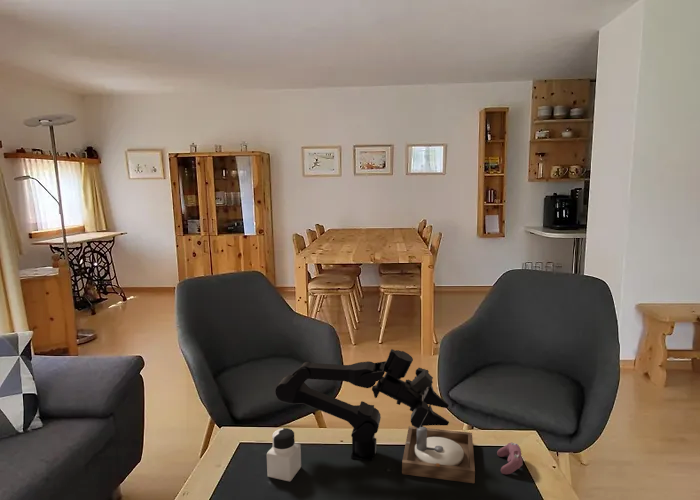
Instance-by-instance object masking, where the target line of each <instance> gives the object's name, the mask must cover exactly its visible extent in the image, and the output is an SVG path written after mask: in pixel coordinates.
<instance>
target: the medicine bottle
mask: <svg viewBox="0 0 700 500" xmlns="http://www.w3.org/2000/svg"><path fill="white" fill-rule="evenodd" d="M271 437H272V447H271V448H270V449H269V450H268V451H267V453H266V470H267V477H268V478H272V479H277V480H282V481H285V482H291V481H292V480H293V478H294V477H295V476H296V474H297V473H298V472H299V470H300V469H301V468H302V451H301V446H302V445H301V444H300V443H296V442H295V441H296V440H295V432H294V431H293V430H292V429H291V428H289V427H288V428H287V427H286V428H285V427H283V428H282V427H281V428H279V429H276V430H275V431H274V432H273V433H272V436H271Z"/></svg>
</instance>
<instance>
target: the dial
mask: <svg viewBox="0 0 700 500" xmlns="http://www.w3.org/2000/svg"><path fill="white" fill-rule="evenodd" d="M427 428H428V427H427V426H423V427H419V428H417V443H416V445H415V455H416V457H417V459H418V460H419V461H420V462H425V463H433V464H436V463H438V464H441V465H449V466H457V465H459V464H460V463H461V462H462V461H463V456H464V452H463V449H462V447H461V446H460V445H459V444H457V443H456V442H454V441H452V440H450V439H447V438H443V437H428V438H427Z"/></svg>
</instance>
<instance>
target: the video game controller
mask: <svg viewBox="0 0 700 500" xmlns="http://www.w3.org/2000/svg"><path fill="white" fill-rule="evenodd" d="M496 454H497V456H498V457H501V458H503V457H507V463H506V464H504V465H502V466H501V467H500V473H501V474H503V475H511V474H513V473H514V472H516V471H517V470H519V469H520V468H521V467H523V460H524V458H523V457H522V450H521V447H520V446H519V445H518V443H516V442H509V443H507V444H505V446H504V445H503V447H501V448H499V449H497V452H496Z"/></svg>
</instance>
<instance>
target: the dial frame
mask: <svg viewBox="0 0 700 500" xmlns="http://www.w3.org/2000/svg"><path fill="white" fill-rule="evenodd" d="M426 428H427V438H428V437H443V438H447V439H450V440H452V441H454V442H456V443H457V444H459V445H460V446H461V447H462V449H463V452H464V456H463V461H462V462H461V463H460V464H459V465H457V466H449V465H441V464H438V463H436V464H433V463H425V462H420V461H419V460H418V459H417V457H416V455H415V445H416V443H417V428H416V427H414V426H412V425H411V426H410V425H409V426H408V429H407V435H406V438H405V444H404V445H405V446H404V451H403V455H402V461H401V462H402V463H401V475H409V476H416V477H423V478H431V479H437V480H438V479H439V480H445V481H453V482H454V481H455V482H461V483H468V484H475V481H476V480H475V478H476V477H475V475H476V470H475V469H476V468H475V454H474V442H473V440H474V439H473V432H467V431H460V430H449V429H448V430H447V429H439V428H430V427H426Z"/></svg>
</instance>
